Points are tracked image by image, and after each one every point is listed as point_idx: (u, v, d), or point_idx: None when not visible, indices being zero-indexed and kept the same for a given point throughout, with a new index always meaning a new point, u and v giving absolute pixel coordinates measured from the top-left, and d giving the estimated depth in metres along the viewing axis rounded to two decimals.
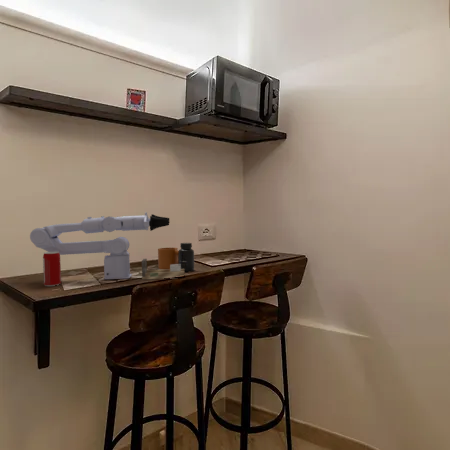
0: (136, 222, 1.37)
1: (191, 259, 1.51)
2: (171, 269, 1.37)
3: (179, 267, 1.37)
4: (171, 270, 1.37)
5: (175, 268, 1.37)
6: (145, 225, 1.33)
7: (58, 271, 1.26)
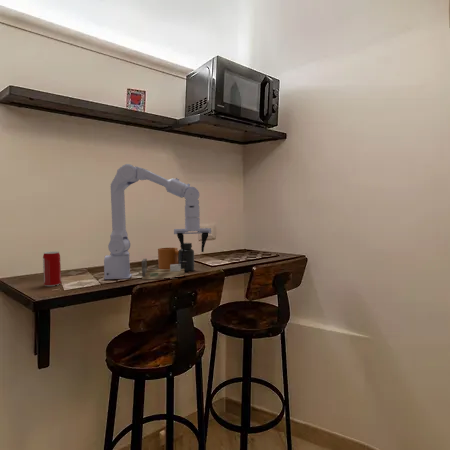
0: (185, 220, 1.39)
1: (191, 259, 1.51)
2: (171, 269, 1.37)
3: (179, 267, 1.37)
4: (171, 270, 1.37)
5: (175, 268, 1.37)
6: None
7: (58, 271, 1.26)
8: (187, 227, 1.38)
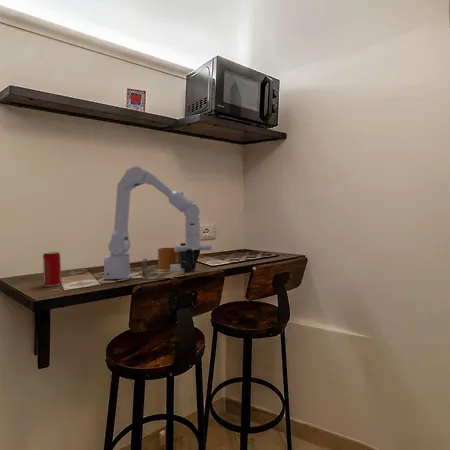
0: None
1: None
2: (171, 269, 1.37)
3: (179, 267, 1.37)
4: (171, 270, 1.37)
5: (175, 268, 1.37)
6: (174, 247, 1.40)
7: (58, 271, 1.26)
8: (187, 244, 1.38)
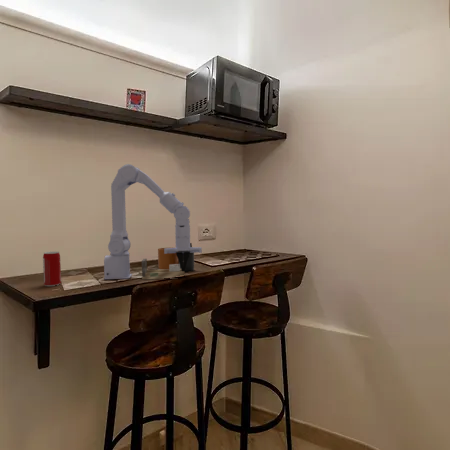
0: None
1: (191, 259, 1.51)
2: (170, 269, 1.37)
3: (178, 267, 1.37)
4: (170, 270, 1.37)
5: (174, 268, 1.37)
6: (164, 249, 1.39)
7: (58, 271, 1.26)
8: (177, 246, 1.37)
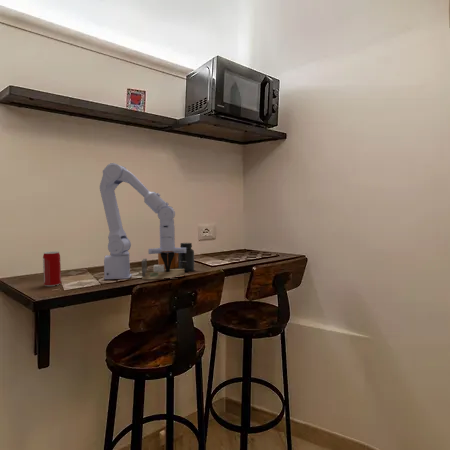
0: (160, 240, 1.38)
1: (191, 259, 1.51)
2: (154, 270, 1.36)
3: (162, 268, 1.37)
4: (154, 271, 1.36)
5: (158, 269, 1.36)
6: None
7: (58, 271, 1.26)
8: (162, 247, 1.37)
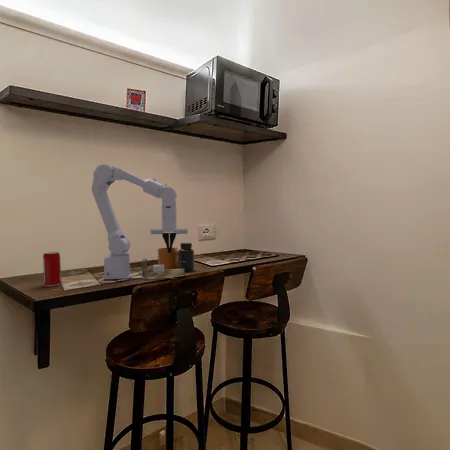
0: (162, 221, 1.39)
1: (191, 259, 1.51)
2: (154, 270, 1.36)
3: (162, 268, 1.37)
4: (154, 271, 1.36)
5: (158, 269, 1.36)
6: None
7: (58, 271, 1.26)
8: (163, 227, 1.38)
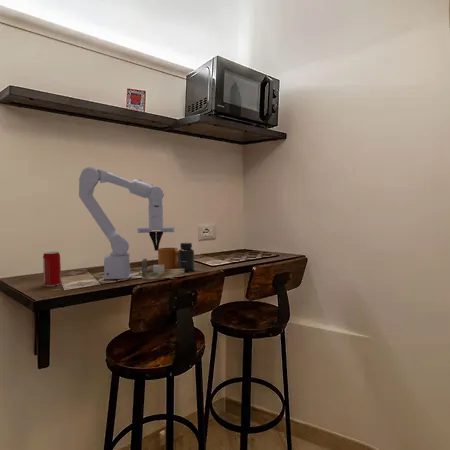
0: None
1: (191, 259, 1.51)
2: (154, 270, 1.36)
3: (162, 268, 1.37)
4: (154, 271, 1.36)
5: (158, 269, 1.36)
6: (137, 229, 1.43)
7: (58, 271, 1.26)
8: (150, 226, 1.42)
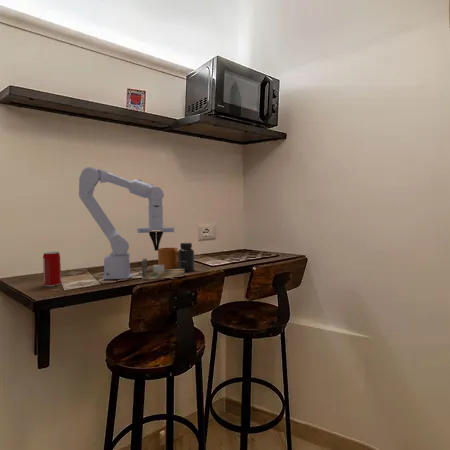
0: None
1: (191, 259, 1.51)
2: (154, 270, 1.36)
3: (162, 268, 1.37)
4: (154, 271, 1.36)
5: (158, 269, 1.36)
6: (137, 229, 1.43)
7: (58, 271, 1.26)
8: (150, 226, 1.42)
